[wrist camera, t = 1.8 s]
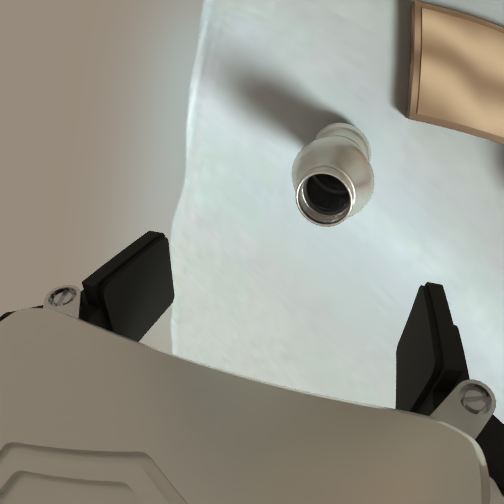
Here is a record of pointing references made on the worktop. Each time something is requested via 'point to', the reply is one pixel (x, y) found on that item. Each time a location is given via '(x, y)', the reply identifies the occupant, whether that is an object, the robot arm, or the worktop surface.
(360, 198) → the plastic bottle
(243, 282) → the worktop surface
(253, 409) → the robot arm
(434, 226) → the worktop surface
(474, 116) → the plinth
